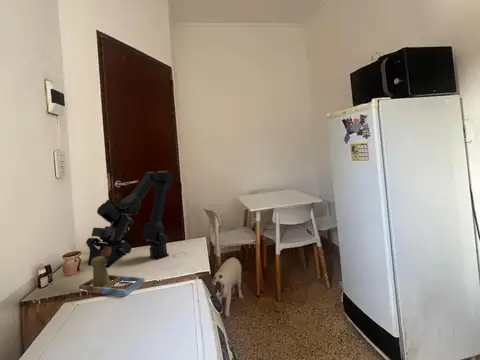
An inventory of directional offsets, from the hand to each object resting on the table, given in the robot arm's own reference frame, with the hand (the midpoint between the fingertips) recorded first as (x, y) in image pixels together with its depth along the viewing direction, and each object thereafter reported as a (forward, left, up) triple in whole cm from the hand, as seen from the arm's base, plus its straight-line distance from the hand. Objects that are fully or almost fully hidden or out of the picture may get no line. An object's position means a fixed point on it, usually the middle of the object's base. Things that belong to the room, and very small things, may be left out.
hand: (97, 266), depth 123 cm
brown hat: (-15, -30, -8) cm, 34 cm away
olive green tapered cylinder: (-1, 0, -8) cm, 8 cm away
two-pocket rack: (-3, +4, -8) cm, 9 cm away
